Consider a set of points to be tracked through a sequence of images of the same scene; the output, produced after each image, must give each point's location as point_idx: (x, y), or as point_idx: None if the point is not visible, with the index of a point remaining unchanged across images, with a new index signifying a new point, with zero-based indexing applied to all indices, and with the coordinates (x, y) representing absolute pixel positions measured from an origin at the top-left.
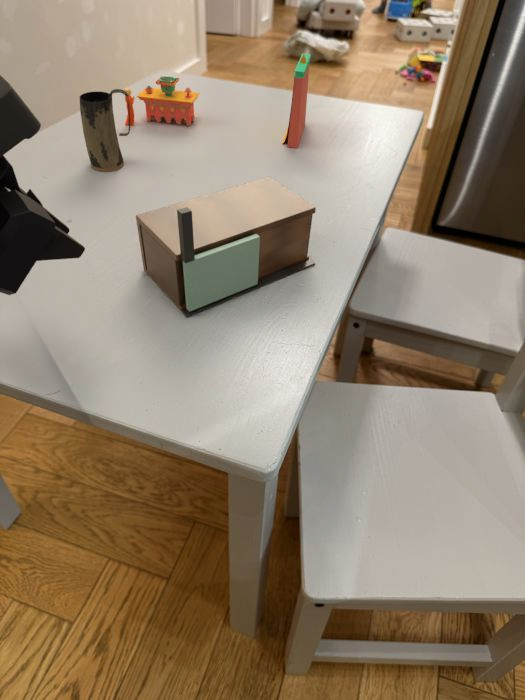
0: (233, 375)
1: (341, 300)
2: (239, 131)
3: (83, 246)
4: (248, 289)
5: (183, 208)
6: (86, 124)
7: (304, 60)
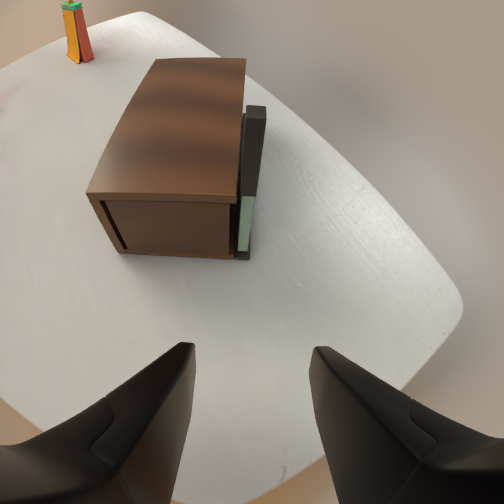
0: (371, 271)
1: (315, 131)
2: (34, 81)
3: (323, 347)
4: None
5: (248, 110)
6: None
7: (71, 1)
